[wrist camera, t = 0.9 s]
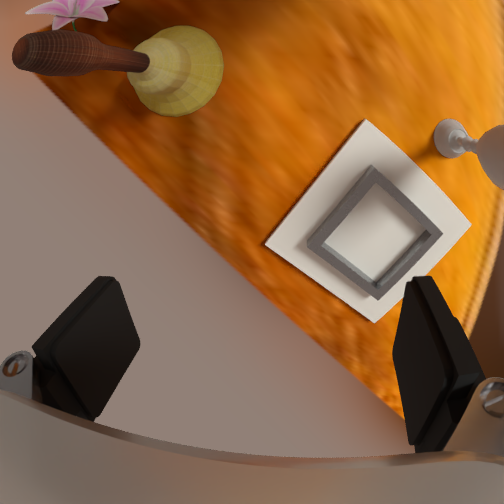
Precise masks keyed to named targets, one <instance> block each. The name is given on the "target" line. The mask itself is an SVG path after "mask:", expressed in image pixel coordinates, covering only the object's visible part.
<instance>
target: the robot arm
mask: <svg viewBox="0 0 504 504" xmlns="http://www.w3.org/2000/svg"><path fill="white" fill-rule="evenodd" d="M32 348H33V350H34V352H35V354H36V357H35V358H33V356H32V355H31V354H30V353H29V352H27V351H18V352H15V353H13V354H11V355H10V356H8V357H7V358H6V359H5V360H4V361H3V363H2V364H1V366H0V504H504V379H502V378H489V379H486V378H485V375H484V373H483V371H482V369H481V366H480V364H479V362H478V360H477V358H476V355H475V353H474V351H473V349H472V347H471V345H470V342H469V340H468V338H467V336H466V334H465V332H464V330H463V328H462V326H461V324H460V322H459V321H458V319H457V318H456V317H453V315H452V313H451V311H450V309H449V307H448V305H447V303H446V301H445V300H444V298H443V296H442V294H441V292H440V290H439V289H438V287H437V285H436V283H435V282H434V280H433V278H432V277H431V276H414V277H412V280H411V281H407V282H406V285H405V291H404V297H403V302H402V307H401V313H400V318H399V323H398V327H397V332H396V336H395V341H394V345H393V352H392V355H393V362H394V366H395V371H396V376H397V380H398V385H399V390H400V395H401V401H402V406H403V412H404V417H405V423H406V429H407V436H408V441H409V444H410V445H414V446H415V453H413V454H399V455H388V456H374V457H355V458H354V457H351V458H299V457H298V458H297V457H277V456H262V455H252V454H242V453H234V452H225V451H218V450H211V449H205V448H198V447H193V446H187V445H181V444H177V443H172V442H167V441H162V440H158V439H153V438H149V437H145V436H141V435H137V434H132V433H129V432H125V431H122V430H118V429H114V428H111V427H108V426H104V425H101V424H98V423H95V422H94V420H95V418H96V417H98V416H99V415H100V414H101V413H102V411H103V409H104V407H105V406H106V404H107V402H108V401H109V399H110V397H111V395H112V394H113V392H114V390H115V389H116V387H117V385H118V383H119V382H120V380H121V378H122V377H123V375H124V373H125V372H126V370H127V368H128V367H129V365H130V363H131V362H132V360H133V358H134V357H135V355H136V353H137V352H138V350H139V348H140V339H139V337H138V334H137V331H136V329H135V326H134V323H133V320H132V318H131V315H130V312H129V310H128V306H127V304H126V301H125V298H124V295H123V292H122V289H121V286H120V283H119V282H118V281H116V279H115V278H114V277H110V276H98V277H97V278H96V279H95V280H94V281H93V282H92V283H91V284H90V285H89V286H88V287H87V288H86V289H85V290H84V291H83V292H82V293H81V294H80V295H79V296H78V297H77V298H76V299H75V300H74V301H73V302H72V303H71V304H70V305H69V307H67V308H66V309H65V311H64V312H63V313H62V314H61V315H60V316H59V317H58V318H57V319H56V320H55V321H54V322H53V323H52V324H51V325H50V327H49V328H48V329H47V330H46V331H45V332H44V333H43V334H42V335H41V336H40V338H39V339H38V340H37V341H36V342H35V343H34V344H33V345H32Z"/></svg>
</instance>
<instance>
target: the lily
mask: <svg viewBox="0 0 504 504" xmlns="http://www.w3.org/2000/svg"><path fill="white" fill-rule="evenodd" d="M52 1H53V2H47V3H44V4H41V5H39V6H36V7H34V8H32V9H30V10H29V11H27V12H26V13H25V14H53V15H56V16H55V17H54V19H53V23H52V30H57V29H59V28H61V27H62V26H64V25H66V24H67V23H69V22H70V21H72V25H73V28H74V31H76V32H77V30H76V28H75V24H74V20H76V19H77V18H79V17H85V18H90V19H95V20H99V21H107V20H108V16H107V14H106V12H105V10H104V9H103V8H102V7H105V6H108V5H112V4H116V3H119V1H116V0H52ZM67 17H68V18H67Z"/></svg>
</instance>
